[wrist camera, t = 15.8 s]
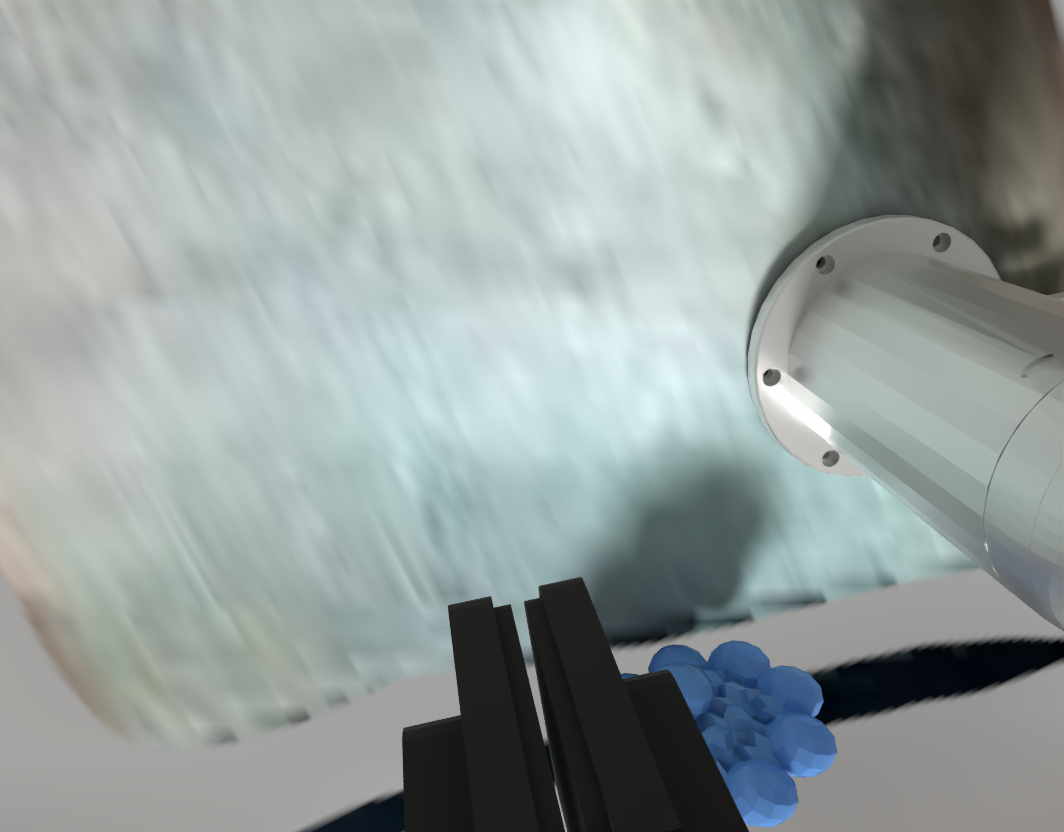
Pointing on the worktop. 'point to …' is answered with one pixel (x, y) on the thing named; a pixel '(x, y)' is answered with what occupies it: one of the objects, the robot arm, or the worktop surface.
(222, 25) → the worktop surface
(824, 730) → the blue flower
